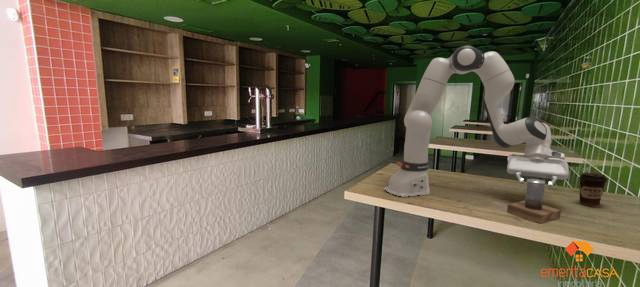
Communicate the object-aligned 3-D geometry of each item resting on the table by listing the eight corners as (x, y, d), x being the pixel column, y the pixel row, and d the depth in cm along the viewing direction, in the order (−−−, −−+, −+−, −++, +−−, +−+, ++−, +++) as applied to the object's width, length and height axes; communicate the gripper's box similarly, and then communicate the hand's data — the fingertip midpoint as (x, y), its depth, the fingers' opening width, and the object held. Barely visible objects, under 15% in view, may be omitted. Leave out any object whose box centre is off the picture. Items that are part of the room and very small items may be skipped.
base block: (540, 223, 103) (541, 215, 102) (506, 212, 114) (507, 204, 113) (559, 217, 108) (560, 210, 107) (525, 206, 119) (526, 199, 118)
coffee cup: (606, 210, 115) (611, 178, 113) (578, 206, 119) (582, 175, 117) (600, 203, 122) (604, 173, 120) (574, 199, 126) (578, 170, 124)
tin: (536, 210, 107) (539, 183, 105) (521, 206, 112) (523, 179, 110) (545, 208, 109) (548, 181, 107) (529, 203, 114) (532, 178, 112)
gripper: (508, 149, 125) (504, 176, 119) (570, 154, 114) (569, 184, 107) (507, 158, 130) (504, 184, 123) (567, 163, 118) (567, 193, 112)
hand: (535, 184), depth 115 cm, fingers open, 8 cm apart
